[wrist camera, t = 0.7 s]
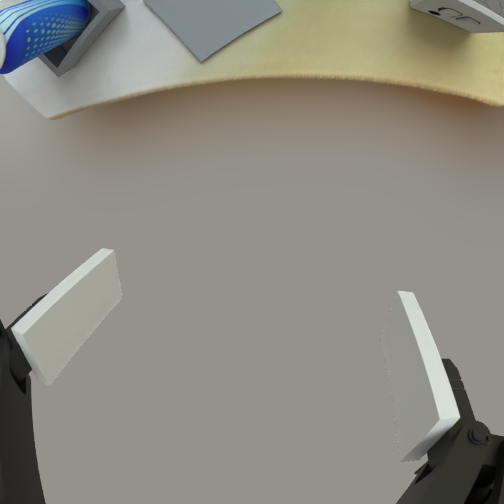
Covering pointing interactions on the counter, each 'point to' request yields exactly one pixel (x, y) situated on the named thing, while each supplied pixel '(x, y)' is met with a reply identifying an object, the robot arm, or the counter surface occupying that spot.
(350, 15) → the counter surface
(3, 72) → the beer can
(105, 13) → the grey storage bin
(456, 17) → the electrical switch
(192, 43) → the coaster mat
